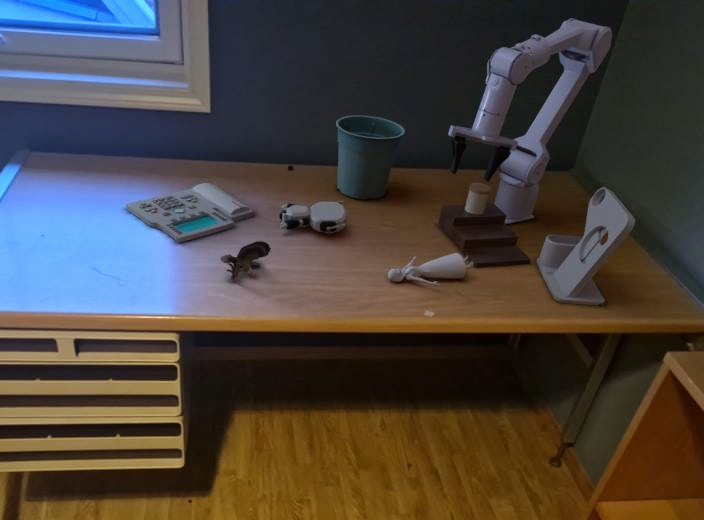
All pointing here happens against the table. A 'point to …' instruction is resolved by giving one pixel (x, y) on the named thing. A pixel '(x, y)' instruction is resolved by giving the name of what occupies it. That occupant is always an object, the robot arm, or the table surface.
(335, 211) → the robot toy
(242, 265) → the brown animal figurine
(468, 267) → the woman figurine
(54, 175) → the table surface
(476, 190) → the jar
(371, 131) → the flower pot
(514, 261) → the step shelf
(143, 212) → the office telephone
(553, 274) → the phone holder
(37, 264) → the table surface
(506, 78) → the robot arm
